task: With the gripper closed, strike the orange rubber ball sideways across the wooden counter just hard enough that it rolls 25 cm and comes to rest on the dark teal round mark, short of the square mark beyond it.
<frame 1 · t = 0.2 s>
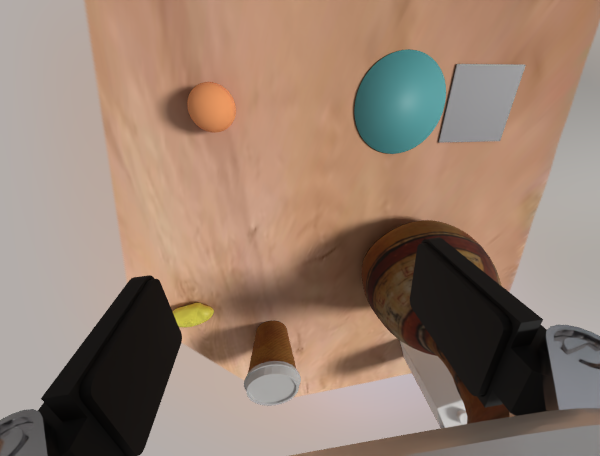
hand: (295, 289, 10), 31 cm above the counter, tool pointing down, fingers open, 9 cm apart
ceramic pitcher: (405, 257, 49), on the counter
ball: (212, 108, 31), on the counter
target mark: (399, 105, 36), on the counter
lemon: (194, 307, 49), on the counter
milk carton: (415, 341, 61), on the counter
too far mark: (479, 105, 37), on the counter
disposable coffee cup: (271, 330, 54), on the counter
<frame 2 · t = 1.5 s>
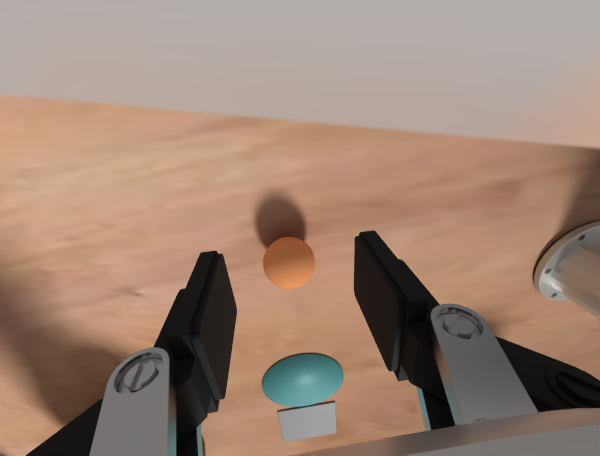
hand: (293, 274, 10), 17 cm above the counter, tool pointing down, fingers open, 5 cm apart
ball: (289, 262, 28), on the counter
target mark: (303, 381, 42), on the counter
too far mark: (308, 421, 47), on the counter
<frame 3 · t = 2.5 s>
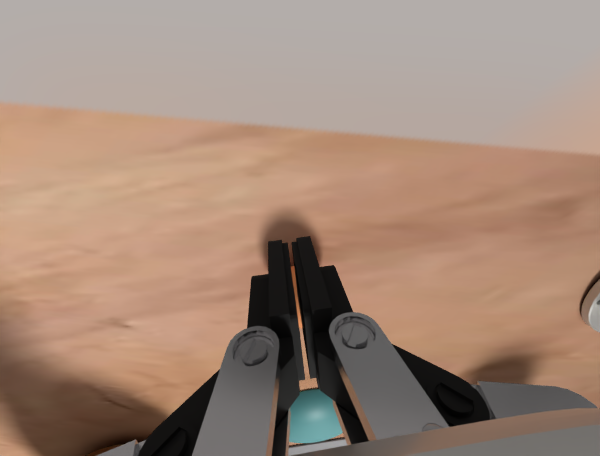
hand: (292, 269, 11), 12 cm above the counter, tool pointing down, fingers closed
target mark: (313, 417, 37), on the counter
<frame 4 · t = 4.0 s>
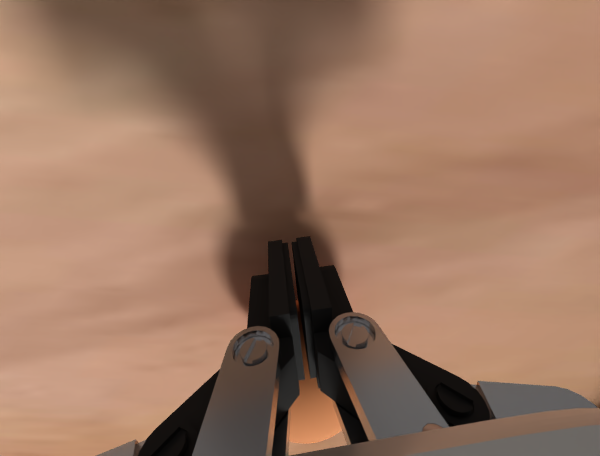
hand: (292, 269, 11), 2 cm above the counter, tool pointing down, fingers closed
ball: (304, 363, 12), on the counter
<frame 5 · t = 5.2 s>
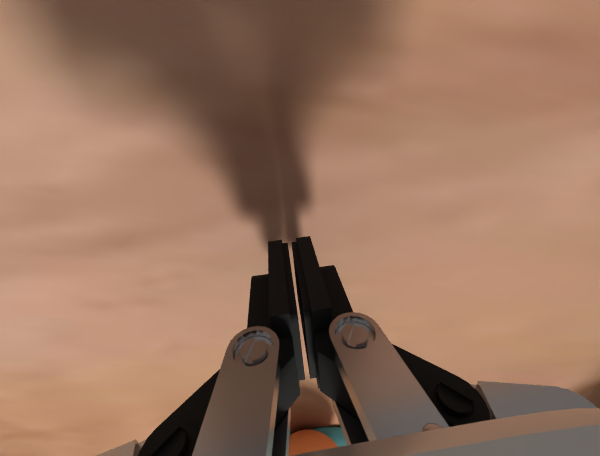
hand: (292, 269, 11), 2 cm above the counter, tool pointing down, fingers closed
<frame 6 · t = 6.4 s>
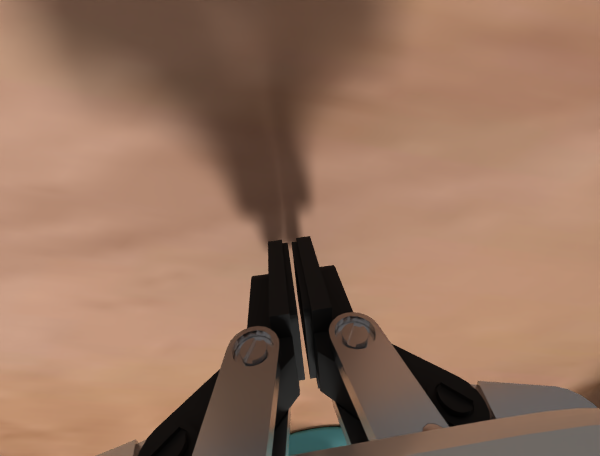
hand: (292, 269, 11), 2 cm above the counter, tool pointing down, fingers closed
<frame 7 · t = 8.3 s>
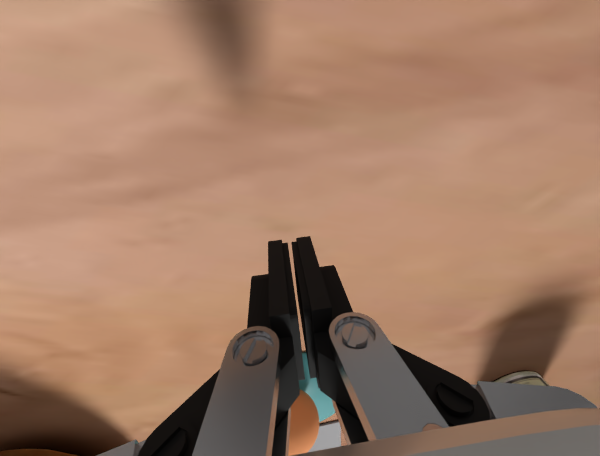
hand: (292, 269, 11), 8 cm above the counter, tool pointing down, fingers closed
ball: (290, 421, 25), on the counter
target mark: (293, 394, 27), on the counter
coffee can: (504, 393, 35), on the counter
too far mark: (302, 449, 33), on the counter
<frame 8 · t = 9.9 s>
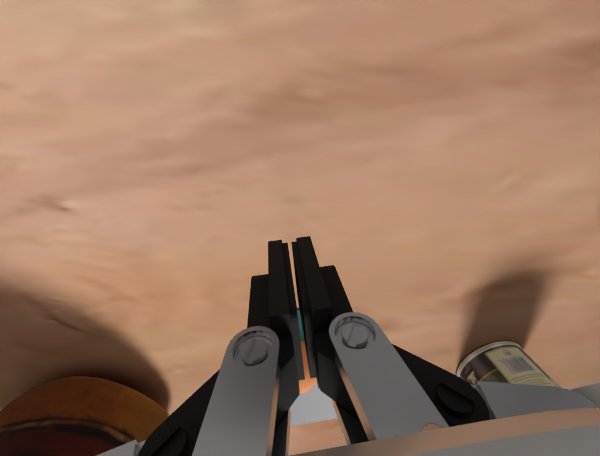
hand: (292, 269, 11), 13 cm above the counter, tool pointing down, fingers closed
ceramic pitcher: (106, 407, 34), on the counter
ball: (296, 365, 30), on the counter
coffee can: (487, 362, 39), on the counter
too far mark: (306, 403, 38), on the counter
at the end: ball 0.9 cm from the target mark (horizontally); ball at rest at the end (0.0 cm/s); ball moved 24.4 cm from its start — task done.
